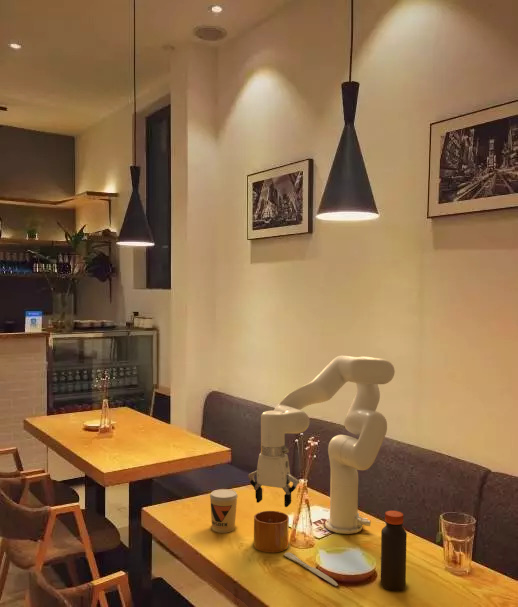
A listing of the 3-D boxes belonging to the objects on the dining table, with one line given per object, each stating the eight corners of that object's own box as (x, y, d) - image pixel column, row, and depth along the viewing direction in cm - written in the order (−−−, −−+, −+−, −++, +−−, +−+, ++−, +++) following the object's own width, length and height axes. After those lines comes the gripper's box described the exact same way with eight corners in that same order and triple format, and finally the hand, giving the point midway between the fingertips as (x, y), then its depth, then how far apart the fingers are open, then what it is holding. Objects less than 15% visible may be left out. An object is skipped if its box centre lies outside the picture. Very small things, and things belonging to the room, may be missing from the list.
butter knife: (290, 551, 184) (282, 553, 183) (341, 583, 164) (333, 586, 163) (290, 552, 184) (282, 554, 183) (341, 585, 164) (333, 587, 163)
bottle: (376, 587, 164) (378, 514, 164) (385, 577, 170) (386, 507, 169) (400, 594, 160) (402, 520, 160) (408, 583, 166) (410, 512, 166)
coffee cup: (204, 531, 200) (205, 495, 200) (216, 521, 209) (216, 487, 209) (230, 535, 197) (231, 499, 197) (241, 525, 206) (241, 490, 206)
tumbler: (291, 540, 194) (292, 513, 194) (283, 554, 183) (284, 525, 183) (259, 536, 197) (259, 509, 197) (249, 549, 187) (249, 521, 186)
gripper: (302, 450, 190) (302, 503, 190) (253, 444, 197) (253, 495, 197) (294, 456, 183) (294, 511, 183) (243, 450, 190) (243, 503, 191)
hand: (273, 503), depth 190 cm, fingers open, 9 cm apart
